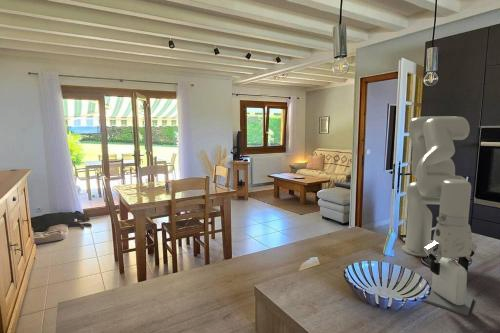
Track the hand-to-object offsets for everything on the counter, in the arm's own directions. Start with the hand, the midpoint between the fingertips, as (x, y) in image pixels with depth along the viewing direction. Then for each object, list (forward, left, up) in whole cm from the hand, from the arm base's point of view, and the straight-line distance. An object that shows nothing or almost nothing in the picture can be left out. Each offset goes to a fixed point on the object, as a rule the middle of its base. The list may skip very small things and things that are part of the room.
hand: (448, 271), depth 95 cm
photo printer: (0, 0, -9) cm, 9 cm away
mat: (+1, 0, -9) cm, 9 cm away
